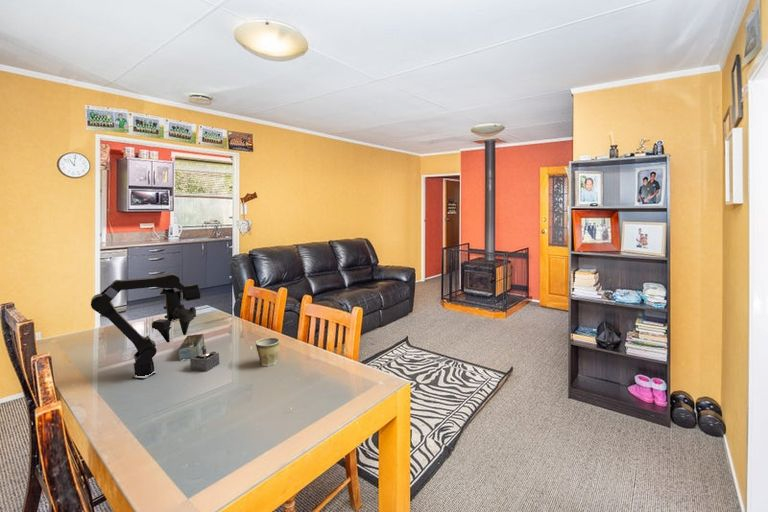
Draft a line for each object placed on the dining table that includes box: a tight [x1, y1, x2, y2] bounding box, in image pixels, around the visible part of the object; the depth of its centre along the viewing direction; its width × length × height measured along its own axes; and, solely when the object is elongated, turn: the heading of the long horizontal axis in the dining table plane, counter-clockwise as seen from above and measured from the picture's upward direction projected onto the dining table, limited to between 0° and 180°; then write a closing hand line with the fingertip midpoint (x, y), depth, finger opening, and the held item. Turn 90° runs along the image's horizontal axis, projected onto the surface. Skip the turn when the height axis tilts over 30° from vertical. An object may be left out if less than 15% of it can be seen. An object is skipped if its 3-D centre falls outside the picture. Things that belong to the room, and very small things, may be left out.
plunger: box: [199, 345, 210, 359], centre depth 166 cm, size 5×5×9 cm
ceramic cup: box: [255, 337, 280, 367], centre depth 170 cm, size 13×10×10 cm
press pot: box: [189, 351, 221, 372], centre depth 168 cm, size 10×8×5 cm
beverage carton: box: [177, 333, 206, 361], centre depth 184 cm, size 8×19×7 cm, turn 15°
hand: (176, 338), depth 165 cm, fingers open, 9 cm apart
